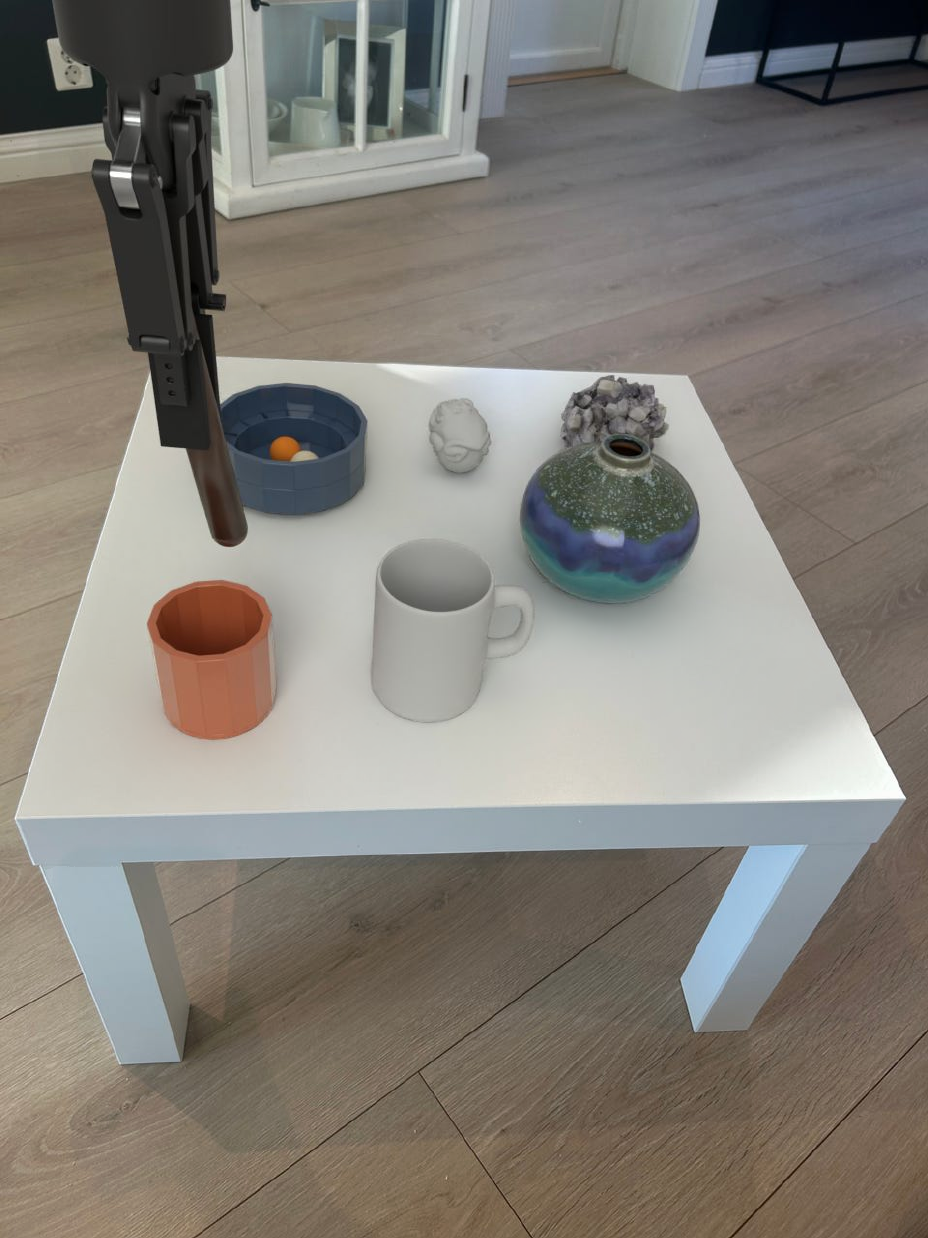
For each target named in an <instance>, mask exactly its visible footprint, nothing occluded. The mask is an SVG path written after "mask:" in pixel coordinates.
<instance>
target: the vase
mask: <svg viewBox="0 0 928 1238" xmlns="http://www.w3.org/2000/svg"><path fill="white" fill-rule="evenodd" d="M693 490H694V489H693V488H692V487H691V485H690V483H689V482H688V480H687V479H686V478H685V477H684V476H683V474H682V473H681V472H680V471H679V470H678V468H676V467H675V466H673V465H672V464H671V463H670V462H669V461H668V460H666V459H665V458H663V457H662V456H660V455H659V454H656V453H655V452H652V450H651V451H650V447H649V446H648V444H647V443H646V442H644V441H643V440H642V439H640V438H638V437H635V436H632V435H628V434H613V435H610V436H608V437H606V438H605V439H603V441H596V442H588V443H583V444H579V445H575V446H572V447H567V448H564V449H562V450H560V451H558V452H556V453H554V454H552V455H551V456H550V457H548V458H547V459H545V461H544V462H543V463H542V464H540V465H539V467H537V469H536V470H535V471H534V473H533V474H532V476H530V479H529V480H528V481H527V484H526V485H525V489H524V490H523V494H522V496H521V497H522V498H521V501H520V509H519V526H520V531H521V536H522V541H523V544H524V546H525V549H526V551H527V554H528V557H529V558H530V560H531V561H532V562H533V564H534V565H535V567H536V568H537V570H538V571H539V573H540V574H542V576H543V577H545V579H547V580H548V581H549V582H550V583H552V584H553V585H554V586H556V587H557V588H559V589H560V590H562V591H563V592H565V593H568V594H569V595H571V596H574V597H577V598H580V599H583V600H586V601H591V602H597V603H602V604H603V603H604V604H623V603H624V604H625V603H629V602H630V603H631V602H634V601H638V600H641V599H642V600H643V599H644V598H647V597H649V596H652V595H654V594H655V593H657V592H659V591H660V590H662V589H664V588H666V586H668V585H669V584H670V583H672V581H674V580H675V579H676V578H677V577H678V576H679V575H680V574H681V572H683V570H684V569H685V567H686V566H687V564H688V563H689V561H690V560H691V557H692V555H693V554H694V551H695V549H696V546H697V544H698V541H699V540H698V539H699V536H700V529H701V516H700V515H701V514H700V508H699V503H698V500H697V498H696V495H695V492H694V491H693Z"/></svg>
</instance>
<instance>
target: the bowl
mask: <svg viewBox="0 0 928 1238" xmlns="http://www.w3.org/2000/svg"><path fill="white" fill-rule="evenodd" d="M220 407H221V418H220V419H221V423H222V427H223V431H224V435H225V439H226V443H227V446H228V450H229V454H230V458H231V462H232V466H233V470H234V474H235V478H236V482H237V485H238V489H239V493H240V497H241V501H242V505H243V506H246V507H249V508H251V509H254V510H256V511H260V512H263V513H270V514H282V515H291V516H292V515H293V516H295V515H296V516H297V515H303V514H304V515H305V514H310V513H316V512H317V513H318V512H323V511H327V510H329V509H331V508H334V507H336V506H338V505H340V504H344V503H345V502H348V501H349V500H351V499H352V498H353V496H354V495H356V493H357V492H358V491H359V490H360V489H361V488H362V487H363V486H364V484H365V478H366V472H367V459H368V457H367V456H368V455H367V454H368V426H369V425H368V418H367V417H366V415H365V414H364V412H363V410H362V409H361V407H360V405H358V404H357V403H355V402H354V401H353V400H351V399H349V398H348V397H346V396H345V395H343V394H342V393H340V392H337V391H335V390H332V389H327V388H325V387H321V386H318V385H315V384H305V383H303V384H302V383H293V382H282V383H272V384H262V385H255V386H253V387H251V388H247V389H244V390H242V391H238V392H235V393H233V394H232V395H230V396H229V397H227V398H226V399H225V400H223V401H222V402H220ZM280 437H290V438H293V439H294V440H296V441H297V442H298V444H299V445H300V448H301V451H310V452H312V453H314V454H315V455H317V457H318V458H319V459H312V460H304V461H297V462H290V461H279V460H272V459H271V457H270V447H271V445H272V443H273V442H274V441H275V440H276V439H278V438H280Z"/></svg>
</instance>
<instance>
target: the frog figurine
mask: <svg viewBox="0 0 928 1238" xmlns="http://www.w3.org/2000/svg"><path fill="white" fill-rule="evenodd" d="M428 431H429V432H430V433H429V436H428V440H429V442H430V444H431V446H432V450H433V452H434V454H435V457H436V458H437V461H438V462H439V463H440V464H441V466H443V467H444V469H446V470H447V471H450V472H453V473H460V474H461V473H467V472H470V471H472V470H474V469H476V468H477V467H478V466H479V465H480V464H481V462H482V461H483V459H484V457H485V456H486V455H488V454H489V451H490V450H489V447H490V446H491V445H492V439H491V433H490V431H489V430H488V424H487V422H486V420H485V418H484V417H483V416H482V415H481V414H480V413H479V410H478V408H476V407H475V405H474V401H472V400H471V399H469V398H467V397H465V398H464V397H462V398H459V399H457V398H451V399H449V400H444V401H441V402H439V403H437V404H436V406H435V407H434V408H433V410H432V411H431V414H430V417H429V419H428Z"/></svg>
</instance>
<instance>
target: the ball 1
mask: <svg viewBox="0 0 928 1238" xmlns="http://www.w3.org/2000/svg"><path fill="white" fill-rule="evenodd" d="M300 451H301V448H300V445H299V444H298V442H297V441H296V440H294V439H293V438H290V437H280V438H278V439H276V440H275V441H274V442H273V443H272V445H271V447H270V457H271V459H272V460H279V461H290V460H291V458H292V457H293V456H294V455H295V454H296V453H298V452H300Z"/></svg>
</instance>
